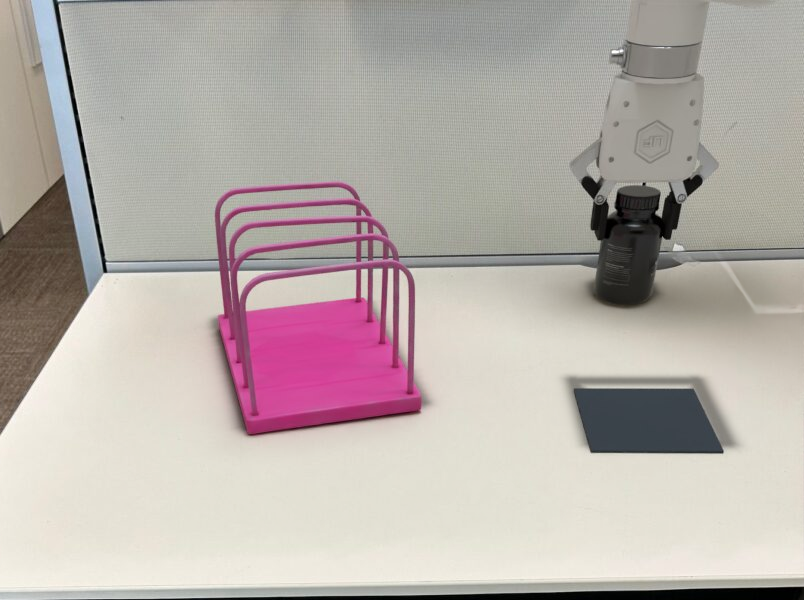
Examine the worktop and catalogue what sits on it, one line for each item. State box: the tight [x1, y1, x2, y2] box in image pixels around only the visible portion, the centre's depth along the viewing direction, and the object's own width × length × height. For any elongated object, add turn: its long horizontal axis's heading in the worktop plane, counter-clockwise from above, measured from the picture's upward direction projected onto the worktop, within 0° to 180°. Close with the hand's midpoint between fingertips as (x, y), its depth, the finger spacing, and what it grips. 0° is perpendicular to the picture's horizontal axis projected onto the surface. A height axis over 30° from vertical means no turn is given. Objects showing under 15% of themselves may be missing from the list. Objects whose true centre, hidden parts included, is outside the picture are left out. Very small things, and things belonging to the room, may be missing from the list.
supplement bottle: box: [593, 184, 664, 306], centre depth 108 cm, size 7×7×12 cm
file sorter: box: [214, 180, 422, 435], centre depth 94 cm, size 17×25×16 cm
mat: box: [573, 387, 725, 454], centre depth 89 cm, size 12×12×1 cm
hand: (632, 234), depth 107 cm, fingers closed on supplement bottle, 6 cm apart
